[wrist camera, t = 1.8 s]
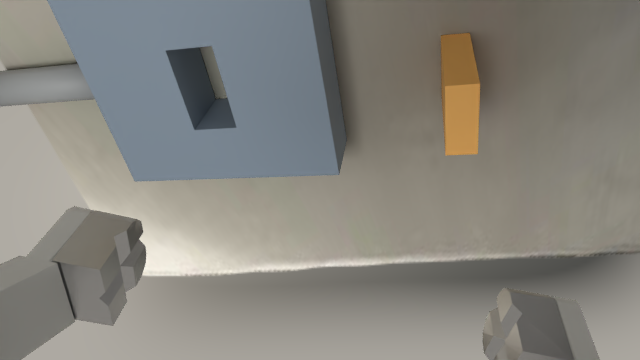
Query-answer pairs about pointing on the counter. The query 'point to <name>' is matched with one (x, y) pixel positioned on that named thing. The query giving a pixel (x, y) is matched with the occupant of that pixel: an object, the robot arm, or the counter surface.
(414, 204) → the counter surface
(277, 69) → the blue holed block
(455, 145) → the orange rectangular block
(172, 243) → the counter surface
